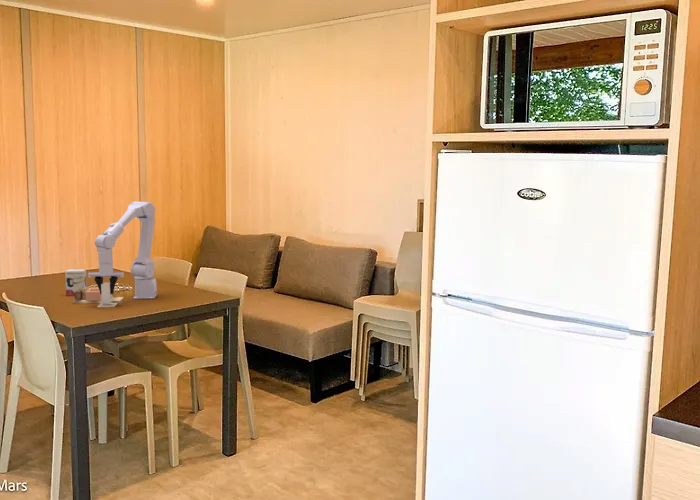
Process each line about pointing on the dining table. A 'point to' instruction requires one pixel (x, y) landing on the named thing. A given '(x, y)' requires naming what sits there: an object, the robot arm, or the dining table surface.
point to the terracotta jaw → (93, 294)
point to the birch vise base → (81, 298)
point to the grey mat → (107, 305)
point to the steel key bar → (106, 293)
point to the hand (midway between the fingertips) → (106, 293)
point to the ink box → (75, 280)
